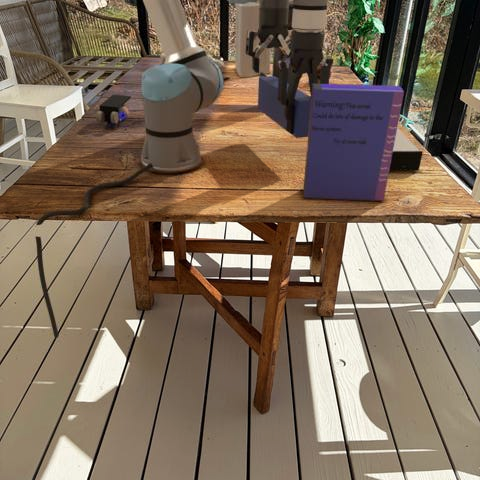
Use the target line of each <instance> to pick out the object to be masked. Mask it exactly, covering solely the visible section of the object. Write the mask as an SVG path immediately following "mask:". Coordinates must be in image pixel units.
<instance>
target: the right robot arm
mask: <svg viewBox="0 0 480 480" xmlns="http://www.w3.org/2000/svg"><path fill="white" fill-rule="evenodd" d="M258 3H259V29H258V31H250V30H248V31H247V37H246V50H245V53H246V54H247V55H249V56H252V69H253V70H254V72H255V73H259V62H260V59H259V58H258V57H259V56H260V54H261V53H262V52H263V51H264V50H265V48H271V49H273V51H272V53H273V55H272V74H271V76H275V77H277V78H279V68H278V65H277V61H278V60H283V59H286V58H288V55H289V53H290V42H291V32H292V30H294V28H292V13H293V1H290V0H259V2H258ZM256 36H258V38H259V39H260V41H259V42H258V44H257V45H256V48H255V49H254V51H253V44H254V40H255V39H256ZM292 68H293V67H292V65H291V64H290V63H289V68H288V69H287V70H288V79H287V83H288V84H289V83H290V79H291V72H292ZM260 76H262V77H267V75H266V74H263V73H262V72H261V75H260ZM297 89H298V90H299V87H298V88H297Z"/></svg>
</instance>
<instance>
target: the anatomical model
mask: <svg viewBox="0 0 480 480" xmlns="http://www.w3.org/2000/svg"><path fill="white" fill-rule="evenodd" d="M326 57H328V58H331V59H333V60H334V58H333V57H332V56H330V55H327V56H326ZM321 66H322V65H321V63H320V64H319V66H318V67H317V71H318V76H317V79H318V84H319V83H320V73H321ZM331 76H332V68H331V69H330V77H329V80H330V79H331Z"/></svg>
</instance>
